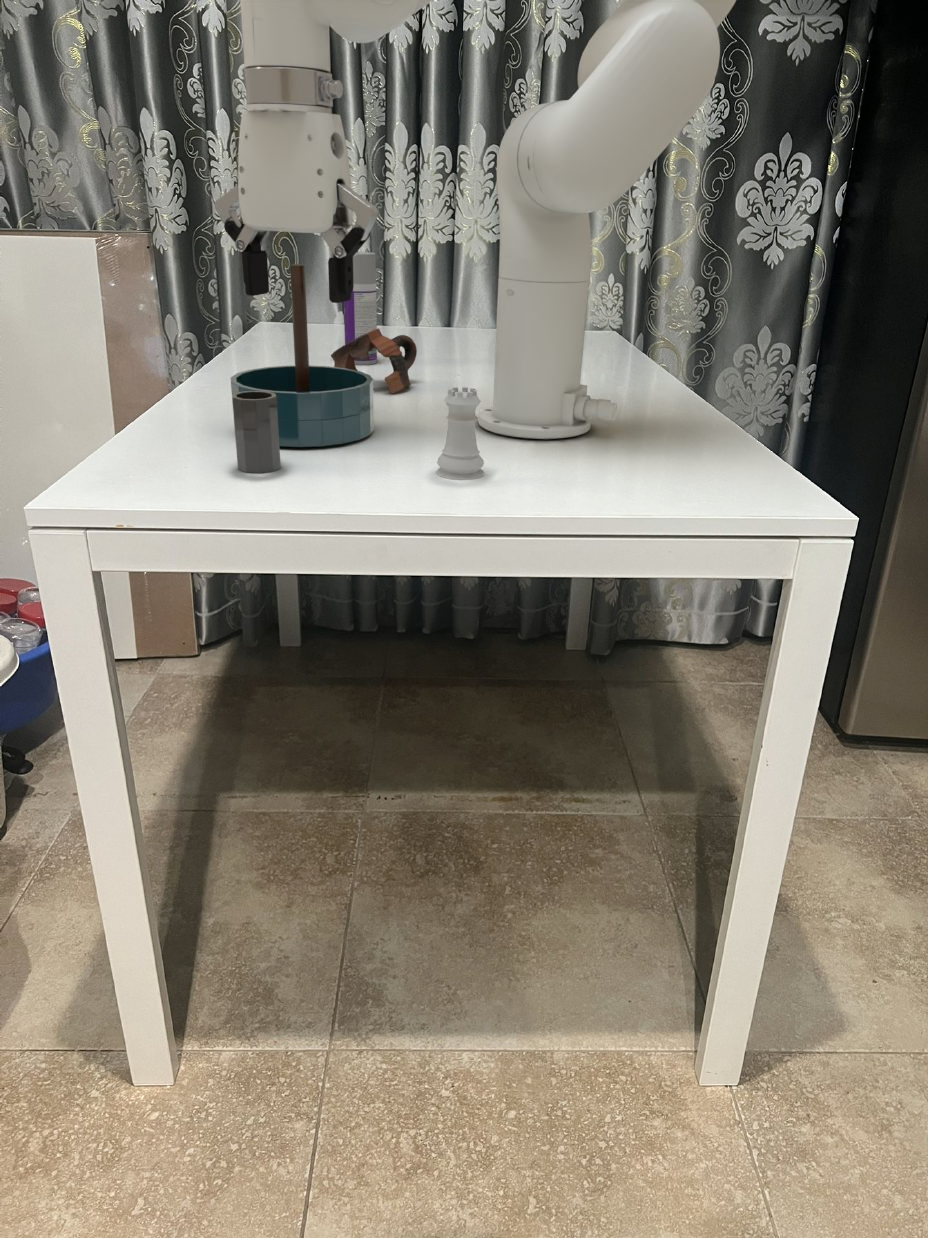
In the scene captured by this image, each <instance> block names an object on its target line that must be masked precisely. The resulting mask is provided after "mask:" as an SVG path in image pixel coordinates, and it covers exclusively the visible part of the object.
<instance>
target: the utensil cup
mask: <svg viewBox="0 0 928 1238" xmlns="http://www.w3.org/2000/svg"><path fill="white" fill-rule="evenodd" d="M231 402H233V403H232V414H234V415H233V426H235V428H234V438H235V451H236V461H237V462H236V463H237V470H239V471H240V472H242V473H245V474H256V475H257V474H269V473H270V474H271V473H273V472H277V471H278V470H280V469H282V465H281V449H280V447H281V446H279V430H278V413H277V397H276V394H275V393H271V392H267V391H244V392H238V393H235V394H232V393H231Z"/></svg>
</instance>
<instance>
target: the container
mask: <svg viewBox="0 0 928 1238" xmlns="http://www.w3.org/2000/svg"><path fill="white" fill-rule="evenodd" d="M376 267H377V266H376V253H375V252H369V251H358V254H357V255H356V256H354V257H353V284H354V287H353V292H352V293H351V300H350V301H345V302H343V321H344V322H343V323H344V325H343V327H344V345H346V344H347V343H349V342H351V341H352V340H354V339H356V338H358V337H360V336H362V335H364V334H366V333H368V332H370V331H372V330H374V329H378V319H377V315H378V314H377V312H378V311H377V272H376V271H377V269H376ZM368 354H369V357H370V360H365V361H364V360H360V359H355V360H354V362H355V365H358V366H360V365H361V366H365V365H375V364H377V363H378V351H377V349H376V348H373V349H372V350H370V351H369V353H368Z"/></svg>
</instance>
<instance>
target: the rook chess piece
mask: <svg viewBox="0 0 928 1238" xmlns="http://www.w3.org/2000/svg"><path fill="white" fill-rule="evenodd" d="M447 391H448V393H447V396H446V397H445V398H444V400H443V401H444V403H445V405H446V406H447V409H448V414H447V415H446V420H447V425H448V426H447V434H446V440H445V445H444V448H443V449H442V450H441V454H440V455H439V457H438V458H437V460H436V464H437V465H438V466H439V467H438V469H437V470H436V471H435V473H436V474H437V476H439V477H441V478H444V479H448V480H455V481H457V480H458V481H471V480H476V479H479V478H482V477H484V475H485V471H483V469H482V468H483V467H484V465H485V460H484V459H483V457H482V456H481V454H480V452H481V451H480V450H479V448H478V444H477V435H476V421H478V416H477V415H476V410H477V408H478V407H479V405H480V403H481V402H482V401H481V399H480V397H479V396H478V390H477V389H476V388H474V387H470V388H469V387H468V386H462V390H461V391H459V387H458V386H454V387H452V388H451V387H449V388H448V390H447Z"/></svg>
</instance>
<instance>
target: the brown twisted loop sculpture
mask: <svg viewBox="0 0 928 1238" xmlns="http://www.w3.org/2000/svg"><path fill="white" fill-rule="evenodd" d="M401 347H402V349H404V355H403V351H401ZM373 348H376V349H377V353H379V354H380V355H382V357H384V358H388V359H389V361H390V364H391V367H392V370H393V372H392V373H390V374H389V375H387V376H385V377H384V382H385V383H386V385H387V387H388V390H389V393H390V394H391V395H392V394H395V393H398V392H399V391H401V390H402V389H405V388H408V387H410V386H411V385H412V384H411V381H410V376H409V370H410V368H411V367H412V366H413V365H414V363H415V361H416V358H417V352H418V350H417V348H418V347H417V345H416V343H415V341H414V339H413V338H412V337H411V336H408V335H405V334H400V335H397V336H394V337H392V338H389V337H387V336H384V335H383V334H382V332H381V329H380V328H378V327H377V329H374V330H372V331H370V332H368V333H366V334H364V335H362V336H360V337H358V338H356V339H354V340H352V341H351V342H349V343H347V344H346V345H345V344H344V345H342V346H341V347H339V348H338V349H336V350H335V351H333V352H332V353H331V354H330V357H331V359H332V360H333V363H334V365H333V367H339V368H347V369H352V370H356V371H359V370H358V369H357V367H356V364H355V362H354V360H355V359H360V360H364V361H365V360H370V357H369V354H368V353H369V351H370V350H372V349H373Z"/></svg>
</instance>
